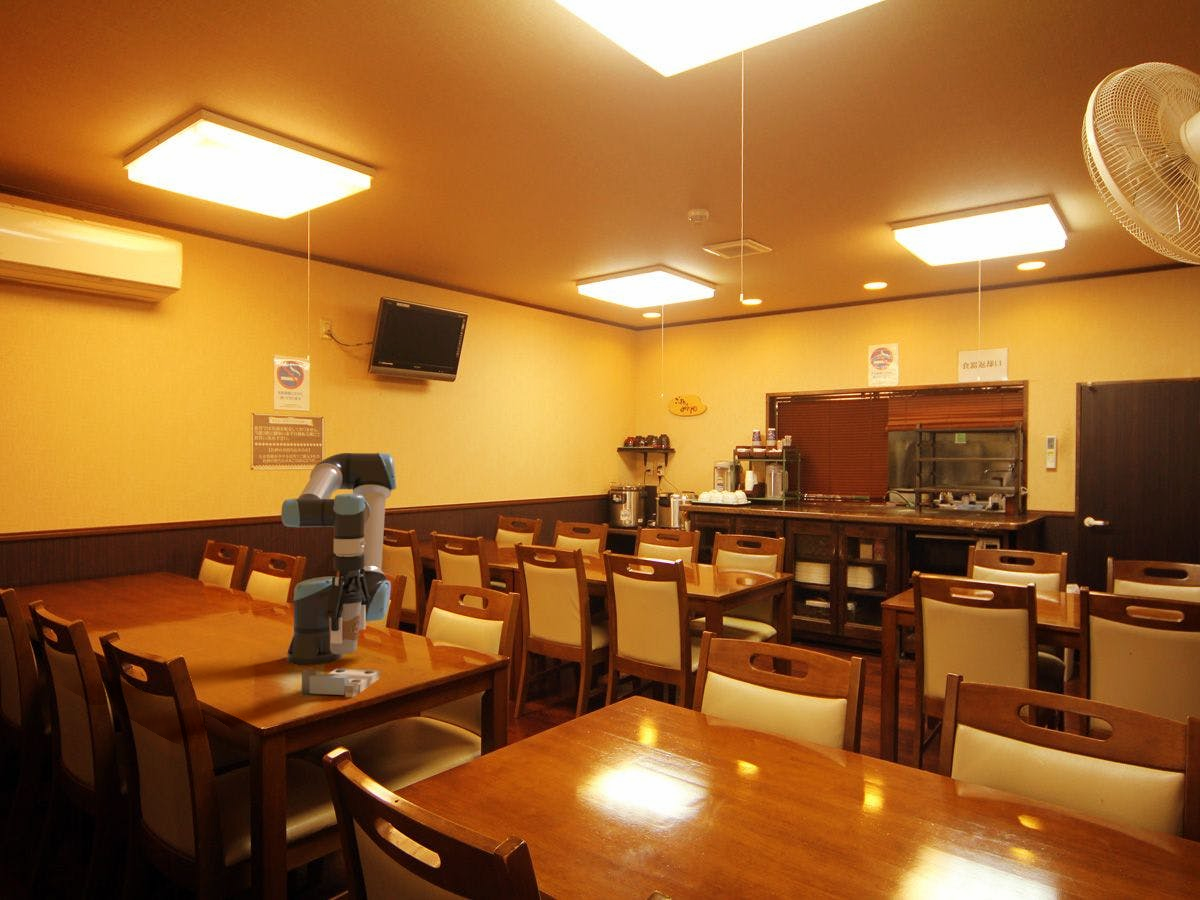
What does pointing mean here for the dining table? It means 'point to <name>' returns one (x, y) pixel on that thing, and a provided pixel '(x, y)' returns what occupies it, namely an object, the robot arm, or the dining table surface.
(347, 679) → the leg bar
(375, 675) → the seat panel
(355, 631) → the coffee cup
